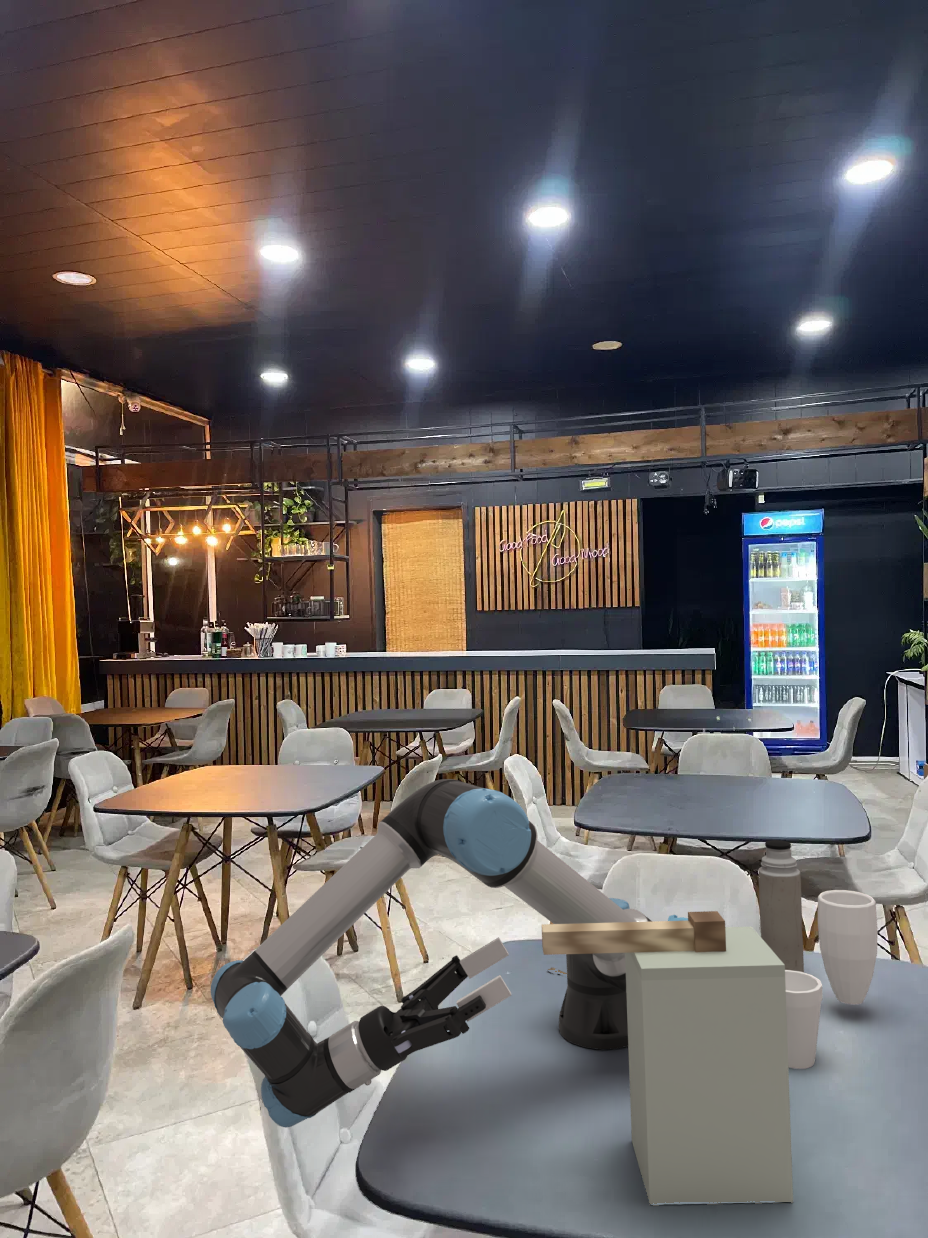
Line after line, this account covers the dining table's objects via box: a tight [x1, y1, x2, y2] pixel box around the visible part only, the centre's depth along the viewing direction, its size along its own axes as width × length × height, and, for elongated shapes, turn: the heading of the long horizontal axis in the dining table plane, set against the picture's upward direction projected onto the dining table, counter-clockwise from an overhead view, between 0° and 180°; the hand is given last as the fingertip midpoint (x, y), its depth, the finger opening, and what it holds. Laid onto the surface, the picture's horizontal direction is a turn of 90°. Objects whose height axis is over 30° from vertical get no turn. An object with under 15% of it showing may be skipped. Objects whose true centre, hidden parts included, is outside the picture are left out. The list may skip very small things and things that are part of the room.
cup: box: [817, 889, 879, 1006], centre depth 163 cm, size 10×10×22 cm
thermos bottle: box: [757, 839, 805, 973], centre depth 179 cm, size 8×8×28 cm
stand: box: [625, 926, 794, 1205], centre depth 120 cm, size 18×14×30 cm
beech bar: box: [541, 910, 726, 956], centre depth 120 cm, size 24×4×4 cm, turn 89°
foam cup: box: [785, 970, 824, 1070], centre depth 148 cm, size 10×9×13 cm
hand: (504, 964), depth 120 cm, fingers open, 13 cm apart
